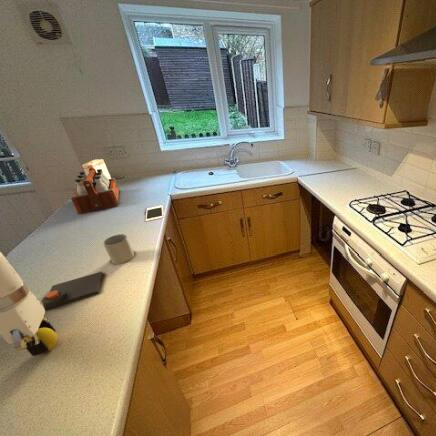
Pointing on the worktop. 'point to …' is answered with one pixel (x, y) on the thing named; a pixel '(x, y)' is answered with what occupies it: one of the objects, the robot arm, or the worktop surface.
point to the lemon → (46, 337)
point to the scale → (74, 290)
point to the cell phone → (154, 213)
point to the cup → (118, 248)
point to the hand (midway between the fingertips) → (44, 342)
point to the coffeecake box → (96, 167)
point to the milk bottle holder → (95, 191)
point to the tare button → (52, 295)
